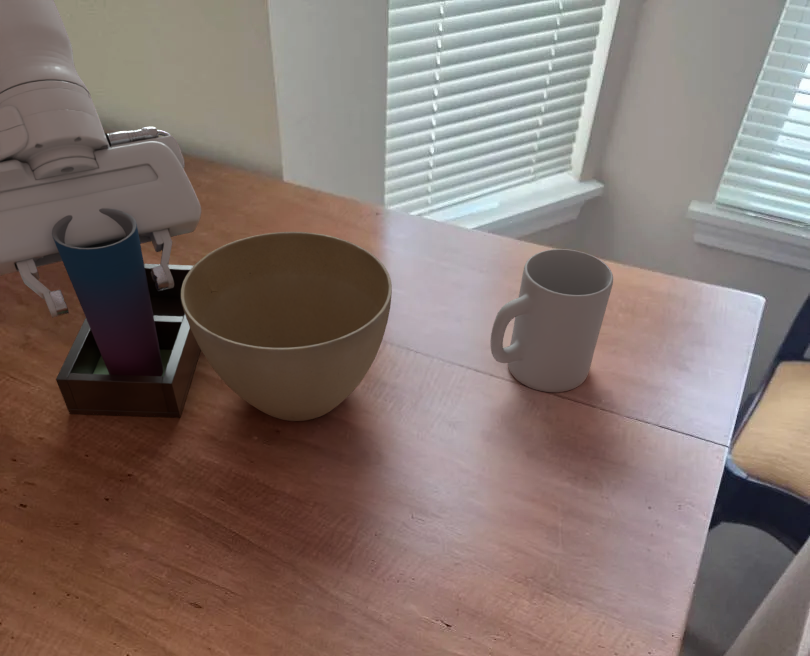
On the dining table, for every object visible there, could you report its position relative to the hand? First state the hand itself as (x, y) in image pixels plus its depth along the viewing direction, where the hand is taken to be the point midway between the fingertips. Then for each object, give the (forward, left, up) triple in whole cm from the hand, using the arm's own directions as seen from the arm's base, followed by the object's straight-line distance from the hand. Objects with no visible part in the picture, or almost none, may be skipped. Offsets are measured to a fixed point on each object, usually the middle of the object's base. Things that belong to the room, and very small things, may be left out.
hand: (114, 300), depth 67 cm
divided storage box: (0, +5, -9) cm, 11 cm away
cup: (0, +1, -9) cm, 9 cm away
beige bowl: (+16, -1, -10) cm, 18 cm away
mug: (+40, +4, -10) cm, 41 cm away
